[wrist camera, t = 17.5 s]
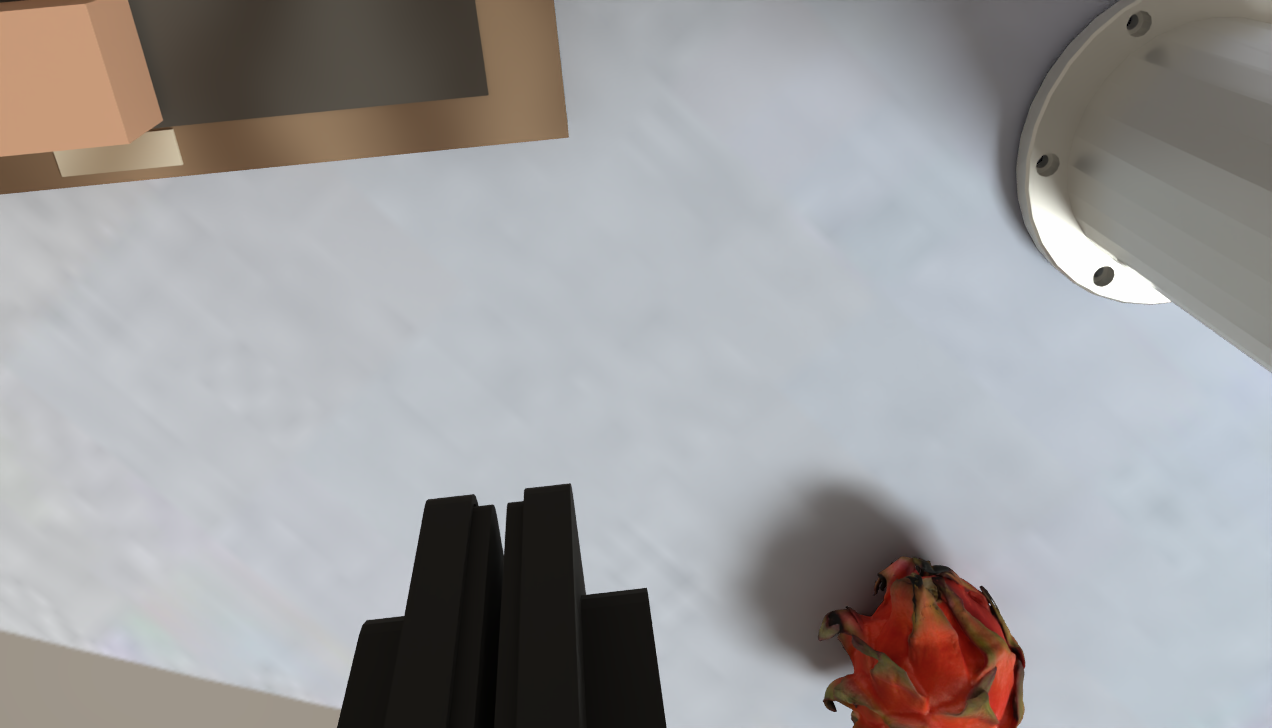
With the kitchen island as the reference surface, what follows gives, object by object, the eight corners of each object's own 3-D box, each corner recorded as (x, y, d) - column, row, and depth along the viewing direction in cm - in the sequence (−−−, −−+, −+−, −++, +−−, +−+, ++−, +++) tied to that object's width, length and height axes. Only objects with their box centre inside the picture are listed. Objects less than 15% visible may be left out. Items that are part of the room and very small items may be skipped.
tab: (125, -9, 31) (85, 3, 28) (163, 120, 33) (129, 143, 30) (-8, 3, 31) (-60, 16, 28) (38, 132, 33) (-7, 157, 30)
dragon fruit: (868, 699, 53) (866, 491, 49) (1039, 749, 48) (1052, 524, 45) (802, 805, 46) (795, 574, 42) (994, 875, 42) (1005, 624, 38)
